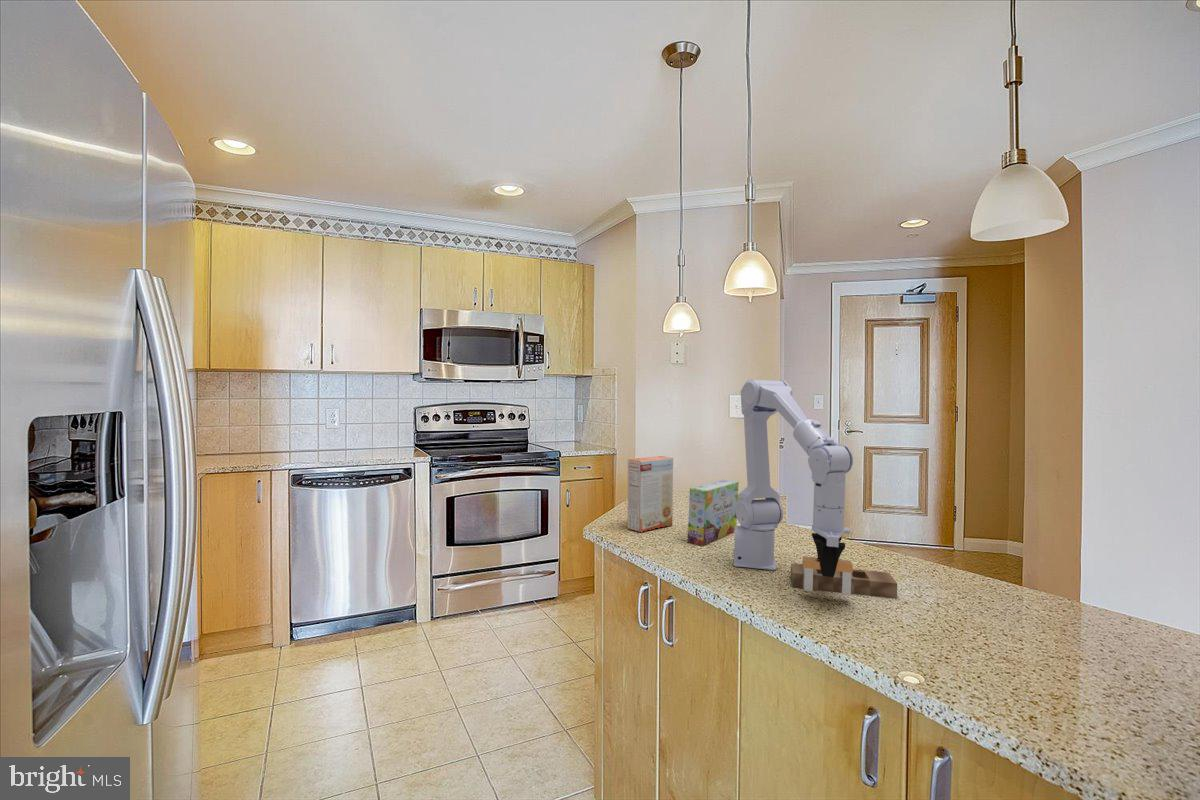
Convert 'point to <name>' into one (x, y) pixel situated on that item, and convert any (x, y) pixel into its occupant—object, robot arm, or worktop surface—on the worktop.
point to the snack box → (712, 511)
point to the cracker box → (650, 493)
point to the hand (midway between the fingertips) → (826, 573)
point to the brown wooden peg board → (860, 581)
